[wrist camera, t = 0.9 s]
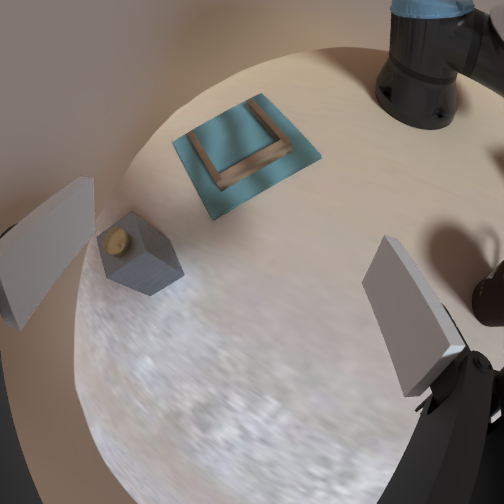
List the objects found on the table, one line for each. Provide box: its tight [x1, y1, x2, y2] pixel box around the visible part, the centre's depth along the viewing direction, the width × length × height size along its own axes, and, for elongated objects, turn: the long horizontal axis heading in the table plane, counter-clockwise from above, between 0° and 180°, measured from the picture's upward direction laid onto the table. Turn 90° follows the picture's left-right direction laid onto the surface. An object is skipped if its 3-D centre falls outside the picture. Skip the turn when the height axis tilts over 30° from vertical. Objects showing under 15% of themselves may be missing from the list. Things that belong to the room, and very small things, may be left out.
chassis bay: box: [172, 93, 321, 220], centre depth 44 cm, size 18×18×3 cm
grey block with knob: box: [97, 211, 184, 296], centre depth 36 cm, size 6×6×11 cm
